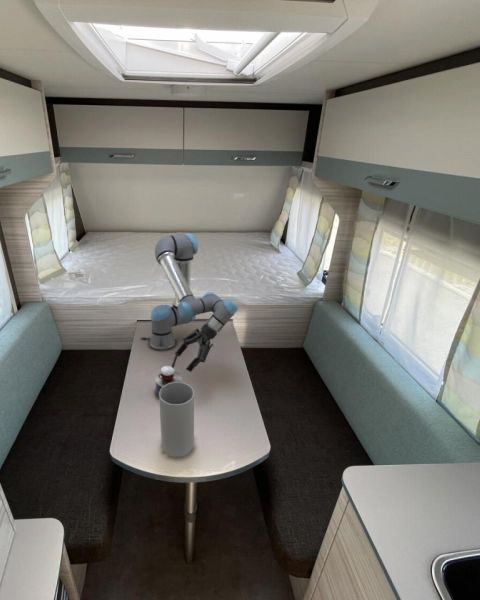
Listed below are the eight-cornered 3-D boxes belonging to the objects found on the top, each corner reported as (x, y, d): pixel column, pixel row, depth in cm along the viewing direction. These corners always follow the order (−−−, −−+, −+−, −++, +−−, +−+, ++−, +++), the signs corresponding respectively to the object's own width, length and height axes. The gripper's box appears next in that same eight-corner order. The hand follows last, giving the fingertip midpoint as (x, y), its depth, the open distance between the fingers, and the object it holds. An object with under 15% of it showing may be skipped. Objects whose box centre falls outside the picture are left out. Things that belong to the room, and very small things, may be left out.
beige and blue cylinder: (150, 391, 155) (149, 377, 152) (170, 380, 163) (169, 366, 160) (167, 404, 147) (167, 390, 144) (187, 391, 155) (187, 378, 152)
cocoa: (158, 383, 148) (157, 361, 144) (158, 374, 154) (157, 353, 149) (179, 381, 149) (179, 359, 145) (178, 373, 155) (178, 352, 150)
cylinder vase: (198, 452, 123) (199, 400, 113) (166, 462, 119) (164, 408, 109) (187, 428, 134) (187, 379, 124) (158, 436, 130) (155, 386, 120)
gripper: (230, 344, 143) (198, 381, 144) (204, 320, 164) (177, 352, 165) (219, 336, 139) (187, 374, 140) (195, 313, 160) (167, 345, 161)
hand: (182, 362), depth 152 cm, fingers open, 13 cm apart
